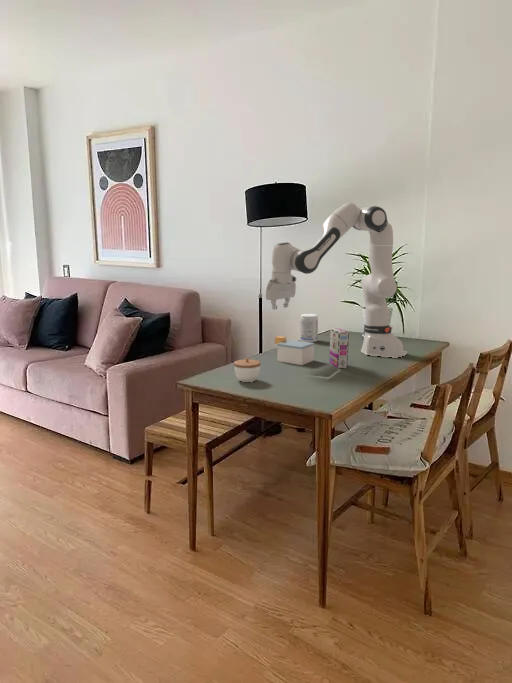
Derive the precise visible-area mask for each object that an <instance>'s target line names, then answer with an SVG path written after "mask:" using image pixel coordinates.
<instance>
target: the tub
mask: <svg viewBox="0 0 512 683" xmlns="http://www.w3.org/2000/svg"><path fill="white" fill-rule="evenodd" d="M276 352H277V360H276V361H277V362H280V363H286V364H293V365H298V366H303V365H306V364H309V363H311V362H314V360H315V344H314V345H313V346H310V347H307V348H304V349H296V348H289V347H282V346H278V345H277V351H276Z"/></svg>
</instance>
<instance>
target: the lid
mask: <svg viewBox="0 0 512 683" xmlns="http://www.w3.org/2000/svg"><path fill="white" fill-rule="evenodd" d="M274 344H277V347H278V346H282V347H289V348H296V349H304V348H307V347H310V346H313V345H314V346H315V342H302V341H301V340H294V339H293V340H292V339H289V340H287V337H286V336H281V335H278V336H275V337H274Z"/></svg>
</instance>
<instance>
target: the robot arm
mask: <svg viewBox="0 0 512 683" xmlns="http://www.w3.org/2000/svg"><path fill="white" fill-rule="evenodd" d="M351 228H353V229H355V230H358V231H364V232H365V231H367V232H368V234H369V248H368V264H369V266H370V272H371V273H369V274H367V275H365V276H363V278H362V279H361V282H360V285H361V286H360V287H361V289H362V293H363V300H364V305H365V319H364V320H365V321H364V323H365V324H363V325H364V326H363V336H364V338H363V342H362V347H361V350H360V352H361V353H362V354H364V355H365V356H367V355H370V356H369V357H377V356H381V358H388V357H392V358H391V359H399V358H398V357H401V358H403V357H402V356H404V357H406V356H407V355H408V351H407V350H404V348H403V343H402V341H401V340H400V339H399V338H398V337H396V336H395V334H393V333H392V330H393V326H390V325H389V312H390V311H389V307H388V303H387V298H390V297H392V296H394V295H395V293H396V292H397V287H398V285H397V282H396V280H395V276H394V270H393V250H394V231H393V226H392V224H390V222H388V216H387V213H386V211H385V209H384V208H382V207H381V206H376V205H374V206H364V207H358V206H357V205H356V204H355V203H353V202H346V203H344V204H343V205H341V206H339V207H338V208H337V209H335V210H334V211H332V213H331V214H330V215H329V216H328V217H327V218H326V219H325V220H324V222H323V223H322V226H321V229H322V237H321V238H319V240H318V241H316V243H315V244H314V245H313V246H312V247H311V248H309V249H306V250H302V249H299V248H298V247H295V246H293V245H292V243H290V242H288V241H287V242H280V243H276V244H275V245H274V246H273V248H272V255H271V264H272V269H271V279H269V281H268V282H267V284H266V290H265V299H266V300H267V301H270V303H271V307H272V310H275V311H276V310H277V309H278V305H277V300H284V303H283V308H284V309H285V308H288V307H289V303H290V301H291V298H294V297H295V295H296V288H297V286H296V282H297V277H295V276H294V275H293V274H292V270H293V271H296V272H300V273H303V274H307V275H308V274H312V273H313V272H316V270H317V269H318V267H319V264H320V263H321V260H322V259H323V258H324V256H325V255H327V253H328V252H329V251H330V250H331V249H332V248H333V246H334V245H336V243H337V242H338V241H339V240H340V239H341V238H342V237H343V236H344V235H345V234H347V233H348V232H349V231H350V229H351ZM406 354H407V355H406ZM405 355H406V356H405Z"/></svg>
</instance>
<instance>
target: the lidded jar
mask: <svg viewBox="0 0 512 683" xmlns="http://www.w3.org/2000/svg"><path fill="white" fill-rule="evenodd" d="M233 366H234V374H235V377H236V378H237V379H238V380H239V382H240V381H242V382H241V383H243V382H251V383H254V382H255V381H256V379H258V377H259V375H260V372H261V361H260V360H257V359H250V358H248V357H246V358H245V359H238V360H235V361H234V362H233ZM253 381H254V382H253Z"/></svg>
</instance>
